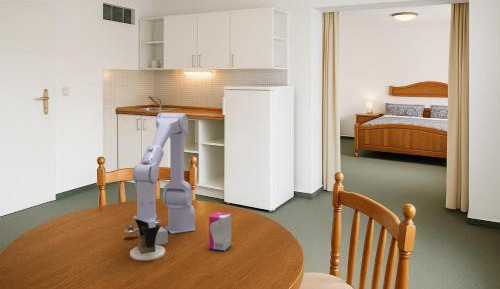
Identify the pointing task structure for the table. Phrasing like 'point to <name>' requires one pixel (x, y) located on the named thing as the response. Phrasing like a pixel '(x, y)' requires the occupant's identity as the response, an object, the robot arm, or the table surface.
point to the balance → (131, 228)
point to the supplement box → (220, 231)
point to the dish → (147, 254)
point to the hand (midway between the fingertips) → (147, 243)
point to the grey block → (161, 236)
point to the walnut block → (144, 245)
